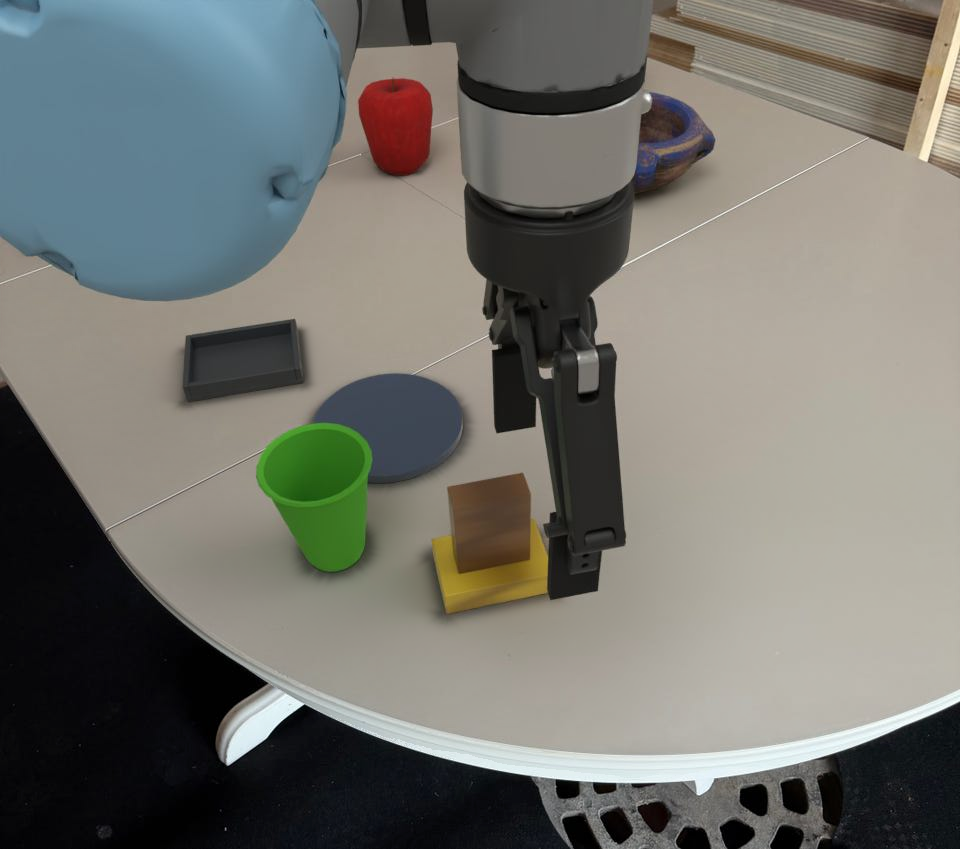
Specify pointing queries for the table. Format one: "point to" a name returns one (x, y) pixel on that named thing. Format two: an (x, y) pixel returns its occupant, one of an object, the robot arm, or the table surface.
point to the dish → (242, 360)
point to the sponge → (490, 545)
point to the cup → (320, 490)
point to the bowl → (669, 142)
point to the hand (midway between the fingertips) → (540, 500)
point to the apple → (397, 124)
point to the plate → (398, 422)
